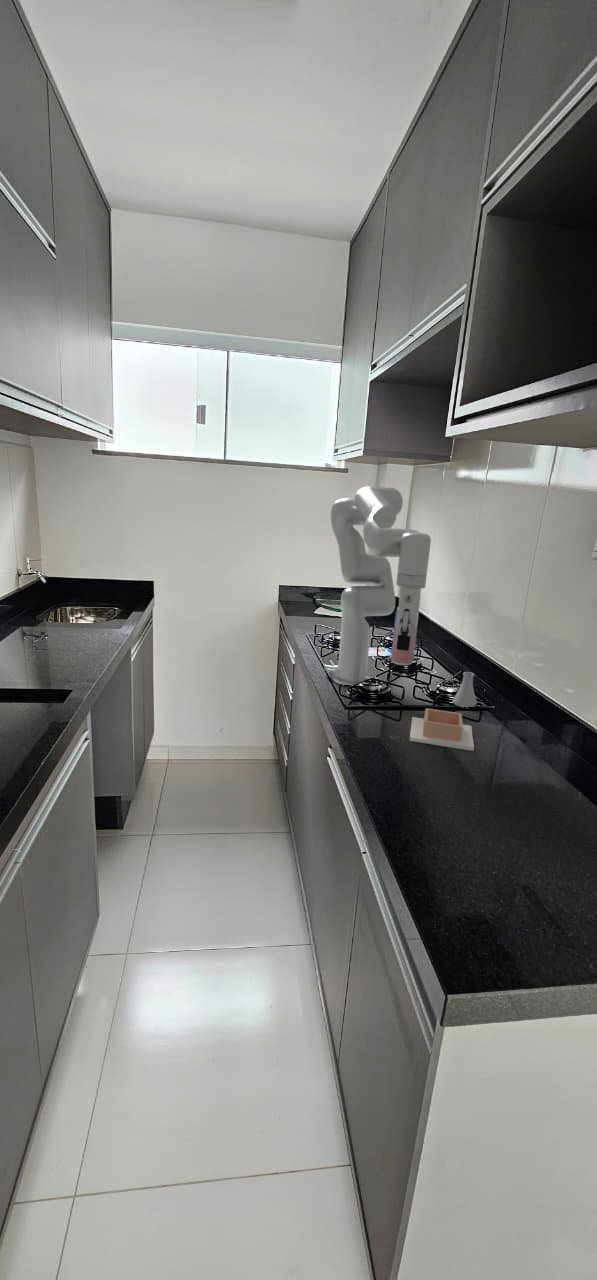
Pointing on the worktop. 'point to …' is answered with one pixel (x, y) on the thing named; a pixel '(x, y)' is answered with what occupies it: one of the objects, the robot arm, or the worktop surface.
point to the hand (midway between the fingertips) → (403, 646)
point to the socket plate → (442, 730)
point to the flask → (465, 692)
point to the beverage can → (401, 655)
